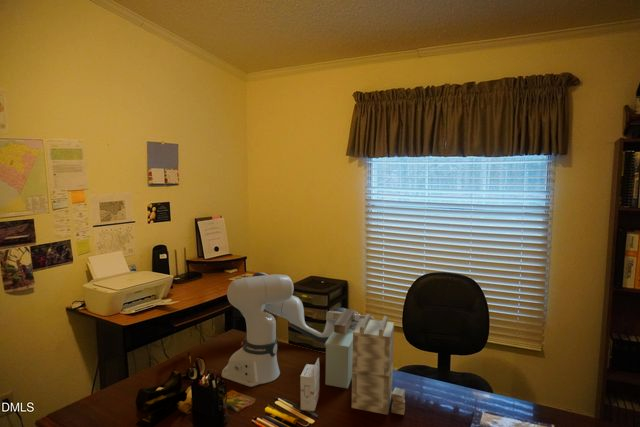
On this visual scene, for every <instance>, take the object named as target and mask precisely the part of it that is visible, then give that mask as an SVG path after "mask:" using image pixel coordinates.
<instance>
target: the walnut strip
mask: <svg viewBox="0 0 640 427" xmlns="http://www.w3.org/2000/svg"><path fill="white" fill-rule="evenodd" d="M354 311H355V309H349V308H345V310H344V311H343V313H342V314H341V315H340V317H339V318H338V320H337V321H336V323H335V324H334V332H336V333H343V334H345V332H346V330H347V329H348V327H349V325H350V323H351V322H352V320H353V319H352V314H353V315H354Z"/></svg>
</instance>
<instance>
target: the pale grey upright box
mask: <svg viewBox="0 0 640 427" xmlns="http://www.w3.org/2000/svg"><path fill="white" fill-rule="evenodd" d="M353 331H354V330H346V332H345V334H343V333H336V332H334V331H333V332H332V334H331V335H330V337H329V338H328V340H327V341H326V343H325V345H324V346H325V380H324V381H325V383H324V384H325V385H326V386H331V387H332V386H333V387H336V388H337V387H338V388H342V389H349V386H350V384H351V382H352V360H353Z"/></svg>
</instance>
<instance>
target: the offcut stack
mask: <svg viewBox="0 0 640 427" xmlns="http://www.w3.org/2000/svg"><path fill="white" fill-rule="evenodd" d="M405 397H406V389H402V388H399V387H394V389H392V395H391V400H392V401H391V402H392V403H391V413H393V414H397V415H402V416H405V411H406V410H405V409H406V399H405Z"/></svg>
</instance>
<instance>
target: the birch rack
mask: <svg viewBox="0 0 640 427" xmlns="http://www.w3.org/2000/svg"><path fill="white" fill-rule="evenodd" d="M364 316H365V318H364V319H361V318H360V320H359V322H358V324H357V326H356V328H355V330H354V331H353V360H352V379H351V409H356V410H360V411H361V410H362V411H366V412H371V413H378V414H383V415H385V416H386V415H389V411H390V405H391V402H392V401H391V400H392V392H393V367H394V366H393V365H394V334H395V332H394V331H395V322H392V321H388V320H389V318H388V316H387V315H383V318H382V320H377V319H374V320H370V316H371V313H366V314H365V315H364Z"/></svg>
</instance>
